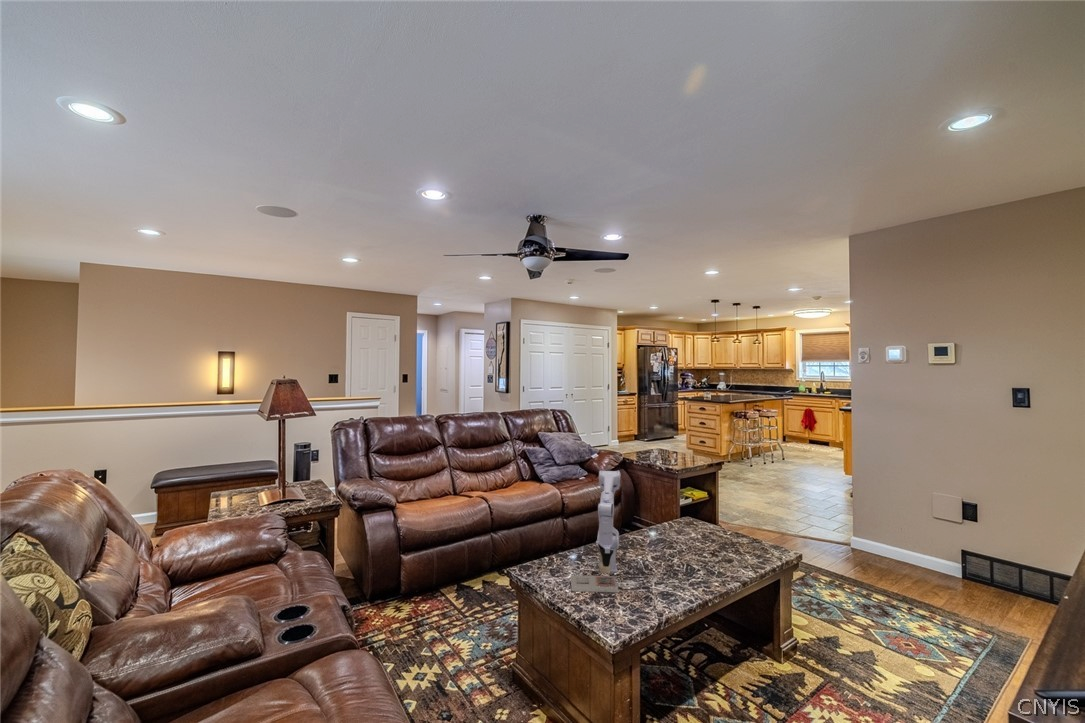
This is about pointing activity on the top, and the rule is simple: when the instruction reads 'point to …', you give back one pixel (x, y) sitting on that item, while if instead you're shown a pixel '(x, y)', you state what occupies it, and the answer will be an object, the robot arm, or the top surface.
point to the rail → (594, 583)
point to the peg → (602, 568)
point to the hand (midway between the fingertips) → (605, 563)
